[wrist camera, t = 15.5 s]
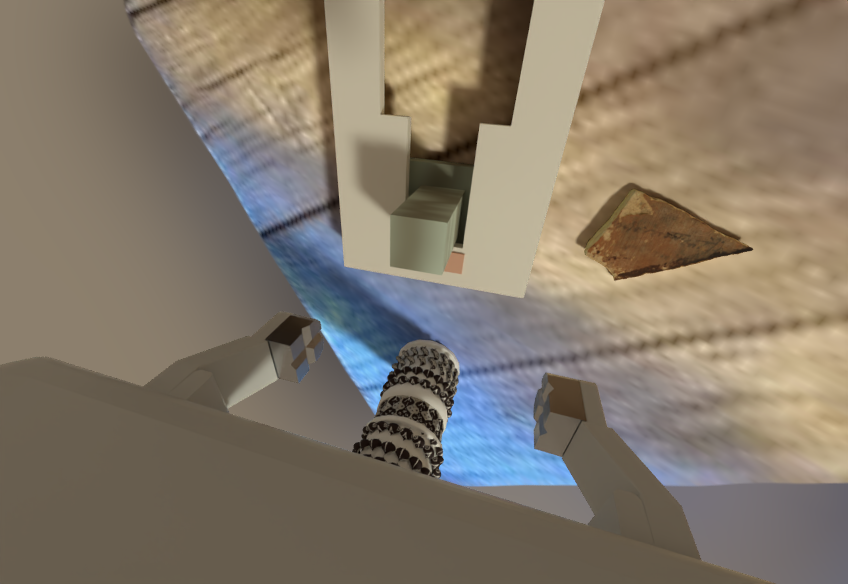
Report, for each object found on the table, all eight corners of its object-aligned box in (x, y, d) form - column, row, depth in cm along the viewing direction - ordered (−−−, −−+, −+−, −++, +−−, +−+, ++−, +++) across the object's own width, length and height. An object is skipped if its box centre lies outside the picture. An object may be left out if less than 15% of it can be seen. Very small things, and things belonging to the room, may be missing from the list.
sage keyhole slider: (492, 166, 29) (482, 196, 20) (478, 248, 33) (465, 303, 24) (406, 156, 30) (361, 180, 21) (403, 236, 34) (365, 284, 26)
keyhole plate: (619, -94, 19) (642, -136, 16) (522, 278, 33) (523, 299, 30) (344, -88, 22) (313, -122, 19) (360, 250, 36) (343, 267, 33)
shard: (743, 242, 27) (757, 250, 26) (669, 305, 32) (677, 316, 30) (633, 182, 27) (640, 187, 26) (573, 254, 31) (576, 262, 30)
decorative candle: (385, 340, 42) (260, 573, 22) (453, 333, 39) (382, 601, 18) (406, 389, 46) (318, 627, 26) (469, 388, 43) (427, 657, 22)
